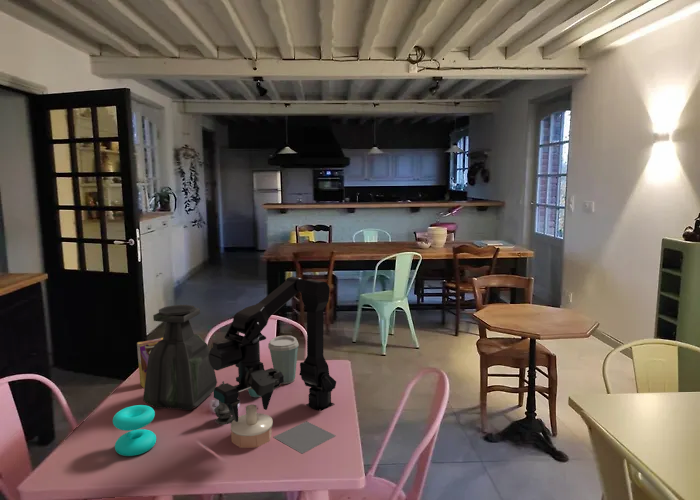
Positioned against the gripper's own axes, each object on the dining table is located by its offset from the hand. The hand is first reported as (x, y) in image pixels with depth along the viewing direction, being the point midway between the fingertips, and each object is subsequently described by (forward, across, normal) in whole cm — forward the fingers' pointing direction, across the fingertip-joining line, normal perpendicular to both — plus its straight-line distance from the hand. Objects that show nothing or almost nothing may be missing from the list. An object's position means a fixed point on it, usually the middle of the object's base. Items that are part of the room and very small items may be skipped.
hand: (251, 415), depth 128 cm
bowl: (+7, 0, 0) cm, 7 cm away
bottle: (+7, -1, +37) cm, 38 cm away
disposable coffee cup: (+7, +31, +25) cm, 40 cm away
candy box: (+7, -1, +57) cm, 57 cm away
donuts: (+7, -23, +19) cm, 31 cm away
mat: (+7, +10, -10) cm, 16 cm away
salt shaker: (+7, +1, +15) cm, 17 cm away
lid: (+3, 0, 0) cm, 3 cm away
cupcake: (+7, +18, +23) cm, 30 cm away
